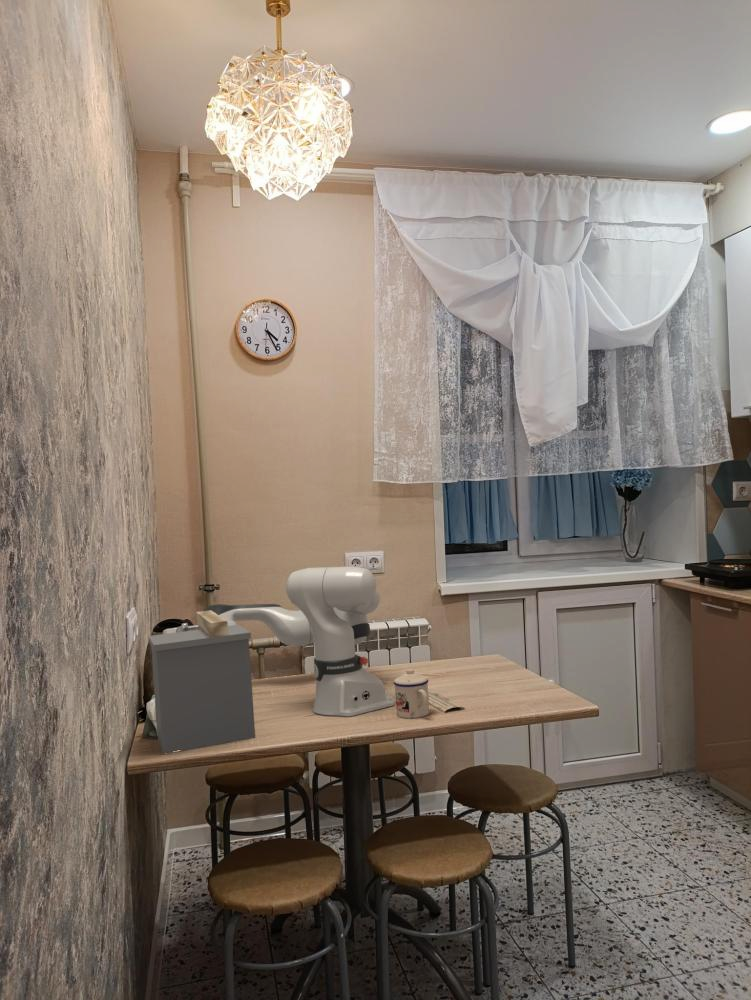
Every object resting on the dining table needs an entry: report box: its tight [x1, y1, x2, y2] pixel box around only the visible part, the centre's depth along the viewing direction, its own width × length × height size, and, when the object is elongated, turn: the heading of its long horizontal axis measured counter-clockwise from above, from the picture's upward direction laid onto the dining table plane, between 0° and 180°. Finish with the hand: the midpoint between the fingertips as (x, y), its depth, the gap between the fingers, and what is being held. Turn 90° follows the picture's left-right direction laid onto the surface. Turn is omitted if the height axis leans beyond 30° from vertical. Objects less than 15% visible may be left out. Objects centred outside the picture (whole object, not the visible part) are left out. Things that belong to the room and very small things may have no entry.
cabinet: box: [147, 624, 256, 755], centre depth 184 cm, size 23×15×26 cm, turn 112°
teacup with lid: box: [393, 668, 430, 719], centre depth 191 cm, size 12×9×12 cm
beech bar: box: [195, 610, 228, 637], centre depth 190 cm, size 4×24×4 cm, turn 22°
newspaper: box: [428, 688, 466, 714], centre depth 204 cm, size 24×7×2 cm, turn 20°
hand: (202, 623), depth 201 cm, fingers open, 8 cm apart
